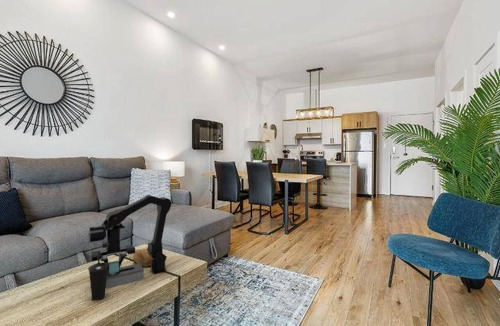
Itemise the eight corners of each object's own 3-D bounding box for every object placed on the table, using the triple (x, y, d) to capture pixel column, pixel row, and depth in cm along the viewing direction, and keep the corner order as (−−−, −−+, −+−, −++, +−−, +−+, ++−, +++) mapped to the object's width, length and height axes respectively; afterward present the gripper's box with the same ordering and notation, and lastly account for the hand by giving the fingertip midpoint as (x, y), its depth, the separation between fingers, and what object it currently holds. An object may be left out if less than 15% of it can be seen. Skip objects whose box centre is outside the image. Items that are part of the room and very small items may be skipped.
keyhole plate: (139, 272, 134) (139, 263, 134) (143, 279, 126) (143, 269, 126) (100, 281, 123) (100, 271, 123) (102, 289, 116) (102, 278, 116)
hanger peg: (117, 275, 126) (117, 260, 125) (119, 278, 122) (119, 263, 122) (107, 277, 123) (107, 262, 123) (108, 281, 119) (108, 265, 119)
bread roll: (140, 270, 136) (140, 255, 136) (129, 262, 147) (129, 248, 147) (157, 265, 143) (157, 251, 143) (145, 257, 154) (145, 244, 154)
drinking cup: (93, 304, 104) (94, 256, 104) (84, 298, 108) (84, 252, 108) (112, 296, 111) (112, 251, 110) (102, 291, 115) (103, 247, 114)
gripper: (131, 231, 134) (131, 260, 134) (89, 237, 123) (89, 268, 124) (135, 236, 125) (135, 267, 125) (91, 243, 114) (91, 277, 115)
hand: (113, 270), depth 122 cm, fingers closed on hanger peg, 4 cm apart
